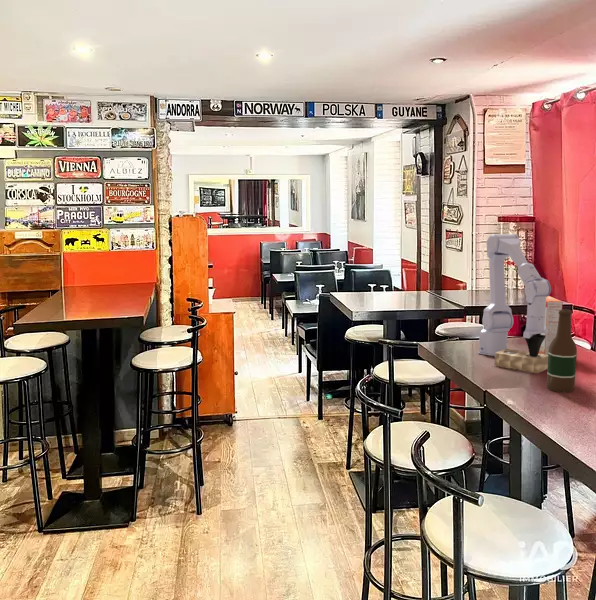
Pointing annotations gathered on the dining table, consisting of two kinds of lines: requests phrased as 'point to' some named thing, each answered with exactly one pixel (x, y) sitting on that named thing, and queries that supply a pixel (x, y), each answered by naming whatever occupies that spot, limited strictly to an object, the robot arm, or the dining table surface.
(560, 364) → the beer bottle
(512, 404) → the dining table surface
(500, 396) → the dining table surface
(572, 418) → the dining table surface
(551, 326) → the cracker box
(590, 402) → the dining table surface
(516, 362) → the socket block
